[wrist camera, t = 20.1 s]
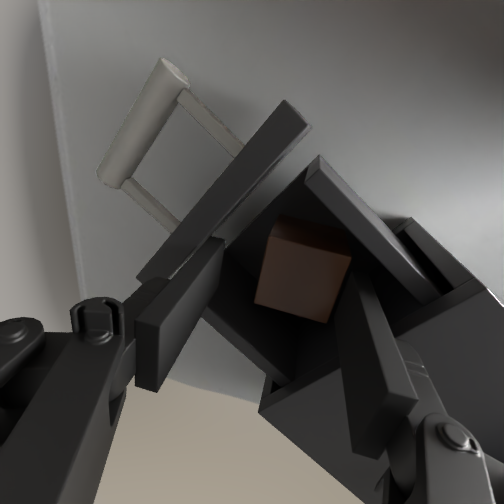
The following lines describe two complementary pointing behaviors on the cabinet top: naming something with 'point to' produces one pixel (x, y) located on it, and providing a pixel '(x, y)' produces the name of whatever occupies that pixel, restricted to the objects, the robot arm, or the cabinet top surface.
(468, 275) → the cabinet
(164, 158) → the cabinet top surface
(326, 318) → the block
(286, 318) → the drawer
